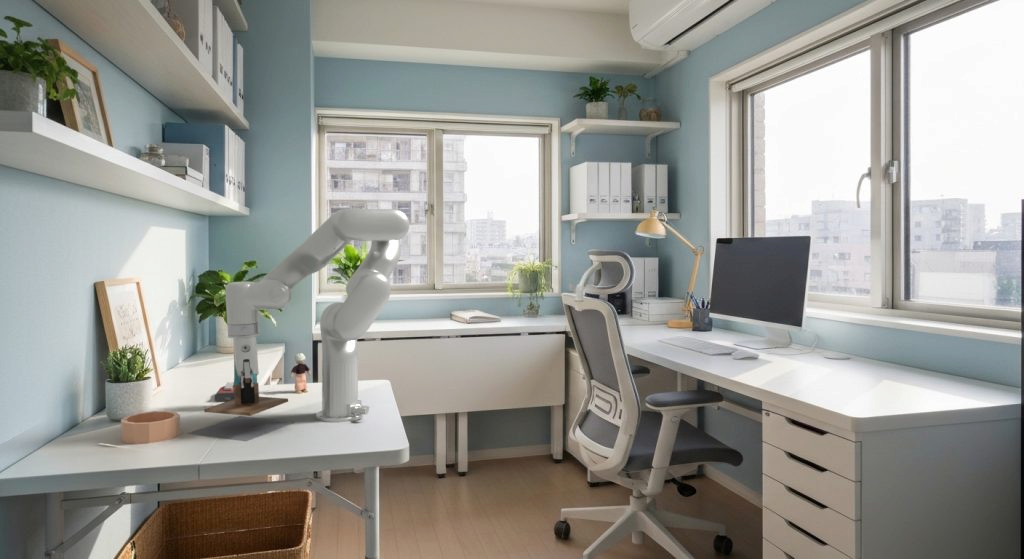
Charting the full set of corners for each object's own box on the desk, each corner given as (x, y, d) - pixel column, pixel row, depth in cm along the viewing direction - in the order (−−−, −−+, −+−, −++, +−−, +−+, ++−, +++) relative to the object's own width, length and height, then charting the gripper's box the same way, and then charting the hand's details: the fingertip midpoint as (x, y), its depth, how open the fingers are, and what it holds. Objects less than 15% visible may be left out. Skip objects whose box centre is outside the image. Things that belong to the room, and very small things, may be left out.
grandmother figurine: (303, 389, 210) (304, 351, 210) (312, 390, 209) (312, 352, 208) (286, 393, 203) (286, 354, 203) (295, 395, 202) (295, 355, 201)
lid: (288, 401, 167) (287, 379, 167) (250, 415, 154) (249, 392, 154) (245, 398, 172) (244, 377, 171) (204, 412, 159) (203, 389, 158)
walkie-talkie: (245, 403, 192) (253, 389, 211) (245, 388, 192) (253, 376, 211) (213, 404, 190) (224, 390, 209) (213, 390, 190) (224, 377, 209)
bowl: (190, 433, 158) (190, 413, 158) (148, 447, 147) (148, 425, 146) (153, 428, 162) (153, 409, 162) (109, 441, 150) (109, 420, 150)
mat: (295, 423, 168) (295, 422, 168) (246, 442, 151) (246, 441, 151) (240, 417, 174) (240, 415, 174) (187, 434, 157) (187, 433, 157)
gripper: (262, 333, 156) (266, 406, 157) (256, 325, 171) (260, 391, 172) (229, 335, 152) (232, 410, 153) (226, 327, 168) (229, 395, 169)
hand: (247, 399), depth 163 cm, fingers closed on lid, 5 cm apart
